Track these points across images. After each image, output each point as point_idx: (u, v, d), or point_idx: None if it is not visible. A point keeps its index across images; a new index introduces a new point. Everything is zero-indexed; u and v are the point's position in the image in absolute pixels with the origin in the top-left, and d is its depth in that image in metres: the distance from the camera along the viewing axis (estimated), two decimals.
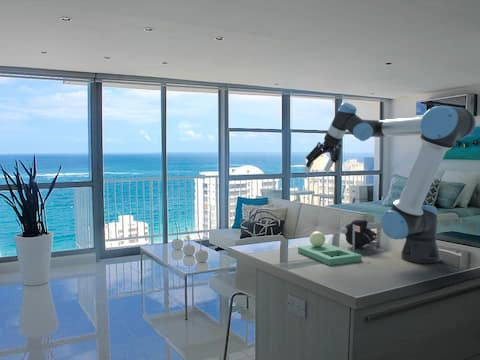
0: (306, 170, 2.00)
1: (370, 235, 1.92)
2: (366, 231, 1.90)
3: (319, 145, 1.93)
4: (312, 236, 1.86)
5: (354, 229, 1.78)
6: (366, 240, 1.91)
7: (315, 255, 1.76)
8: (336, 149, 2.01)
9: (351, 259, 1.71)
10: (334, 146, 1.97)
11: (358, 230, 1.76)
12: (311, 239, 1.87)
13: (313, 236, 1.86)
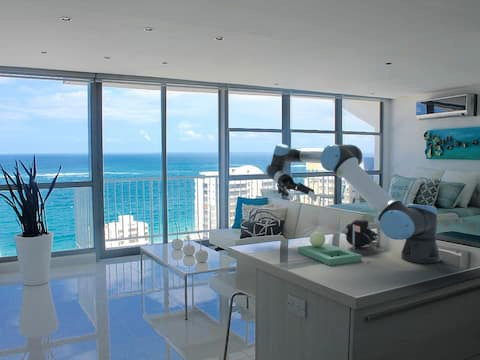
0: (290, 196, 1.98)
1: (370, 235, 1.91)
2: (367, 231, 1.90)
3: (277, 183, 2.10)
4: (312, 236, 1.86)
5: (354, 229, 1.78)
6: (366, 240, 1.91)
7: (315, 255, 1.76)
8: (301, 187, 2.14)
9: (351, 259, 1.71)
10: None
11: (358, 230, 1.76)
12: (311, 239, 1.87)
13: (313, 236, 1.86)
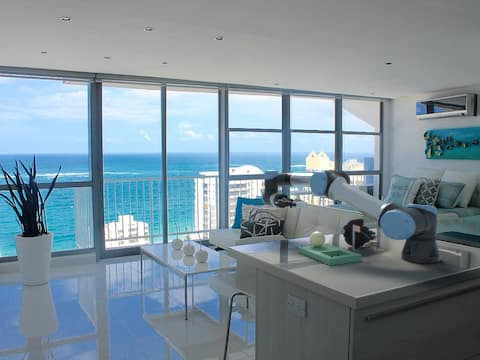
0: (298, 205, 1.99)
1: (368, 233, 1.92)
2: (363, 229, 1.91)
3: (276, 202, 2.10)
4: (312, 236, 1.86)
5: (354, 229, 1.78)
6: (365, 238, 1.91)
7: (315, 255, 1.76)
8: None
9: (351, 259, 1.71)
10: None
11: (358, 230, 1.76)
12: (311, 239, 1.87)
13: (313, 236, 1.86)
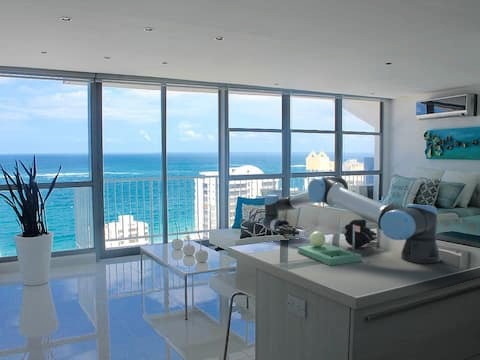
0: (301, 233, 1.99)
1: (369, 234, 1.92)
2: (365, 230, 1.90)
3: (277, 229, 2.10)
4: (312, 236, 1.86)
5: (354, 229, 1.78)
6: (365, 239, 1.91)
7: (315, 255, 1.76)
8: (296, 228, 2.13)
9: (351, 259, 1.71)
10: None
11: (358, 230, 1.76)
12: (311, 239, 1.87)
13: (313, 236, 1.86)
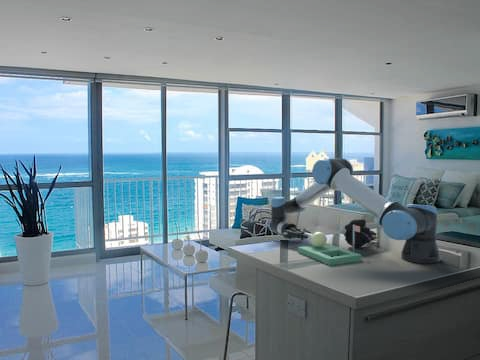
0: (310, 237, 1.91)
1: (369, 234, 1.92)
2: (365, 230, 1.90)
3: (285, 232, 2.02)
4: (314, 237, 1.85)
5: (354, 229, 1.78)
6: (365, 239, 1.91)
7: (315, 255, 1.76)
8: None
9: (351, 259, 1.71)
10: None
11: (358, 230, 1.76)
12: (313, 240, 1.85)
13: (315, 238, 1.84)
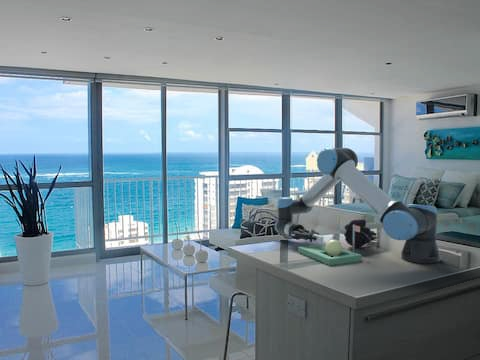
0: (319, 239, 1.85)
1: (369, 234, 1.92)
2: (365, 230, 1.90)
3: (292, 234, 1.96)
4: (326, 251, 1.77)
5: (354, 229, 1.78)
6: (365, 239, 1.91)
7: (315, 255, 1.76)
8: (312, 233, 1.99)
9: (351, 259, 1.71)
10: None
11: (358, 230, 1.76)
12: (326, 248, 1.76)
13: None
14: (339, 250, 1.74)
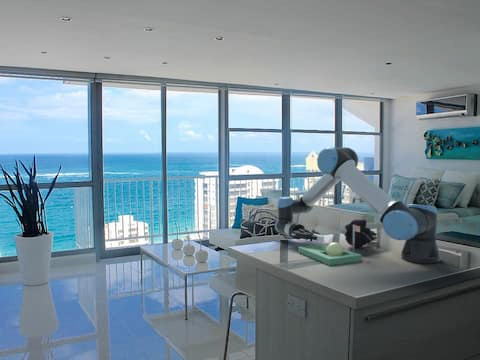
0: (319, 238, 1.85)
1: (369, 234, 1.92)
2: (365, 230, 1.90)
3: (293, 233, 1.96)
4: None
5: (354, 229, 1.78)
6: (366, 239, 1.91)
7: (315, 255, 1.76)
8: (312, 233, 1.99)
9: (351, 259, 1.71)
10: None
11: (358, 230, 1.76)
12: (327, 251, 1.76)
13: (326, 251, 1.78)
14: (339, 255, 1.74)
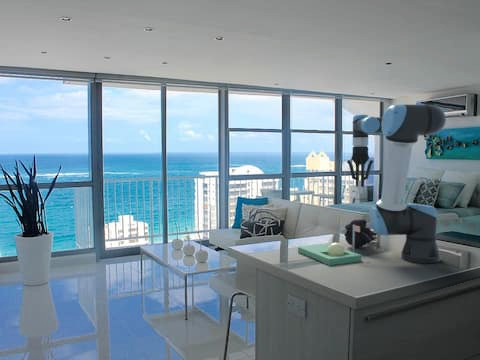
0: None
1: (369, 234, 1.92)
2: (365, 230, 1.90)
3: None
4: None
5: (354, 229, 1.78)
6: (366, 239, 1.91)
7: (315, 255, 1.76)
8: (368, 165, 2.07)
9: (351, 259, 1.71)
10: (365, 156, 2.06)
11: (358, 230, 1.76)
12: (328, 251, 1.75)
13: (327, 250, 1.77)
14: None
